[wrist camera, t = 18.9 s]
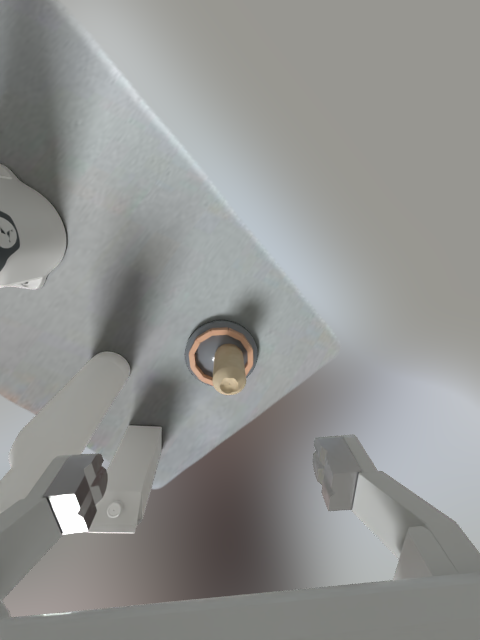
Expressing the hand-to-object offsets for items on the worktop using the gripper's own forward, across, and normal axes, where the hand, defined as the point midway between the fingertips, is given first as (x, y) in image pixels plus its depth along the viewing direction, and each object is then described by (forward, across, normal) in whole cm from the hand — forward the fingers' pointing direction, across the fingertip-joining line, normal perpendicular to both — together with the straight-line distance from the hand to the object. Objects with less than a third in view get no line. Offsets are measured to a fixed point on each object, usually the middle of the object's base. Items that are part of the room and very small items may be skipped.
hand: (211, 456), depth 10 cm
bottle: (+39, +23, +18) cm, 49 cm away
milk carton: (+39, +19, +36) cm, 56 cm away
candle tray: (+39, +1, +16) cm, 42 cm away
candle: (+38, -1, +16) cm, 41 cm away
